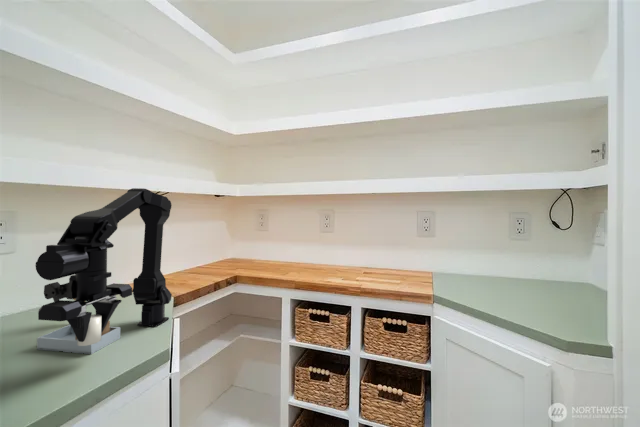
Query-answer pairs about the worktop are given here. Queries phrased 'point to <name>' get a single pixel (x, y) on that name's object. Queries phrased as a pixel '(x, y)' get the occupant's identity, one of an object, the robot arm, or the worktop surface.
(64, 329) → the grey blue tray
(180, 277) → the worktop surface
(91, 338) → the cream cylinder
